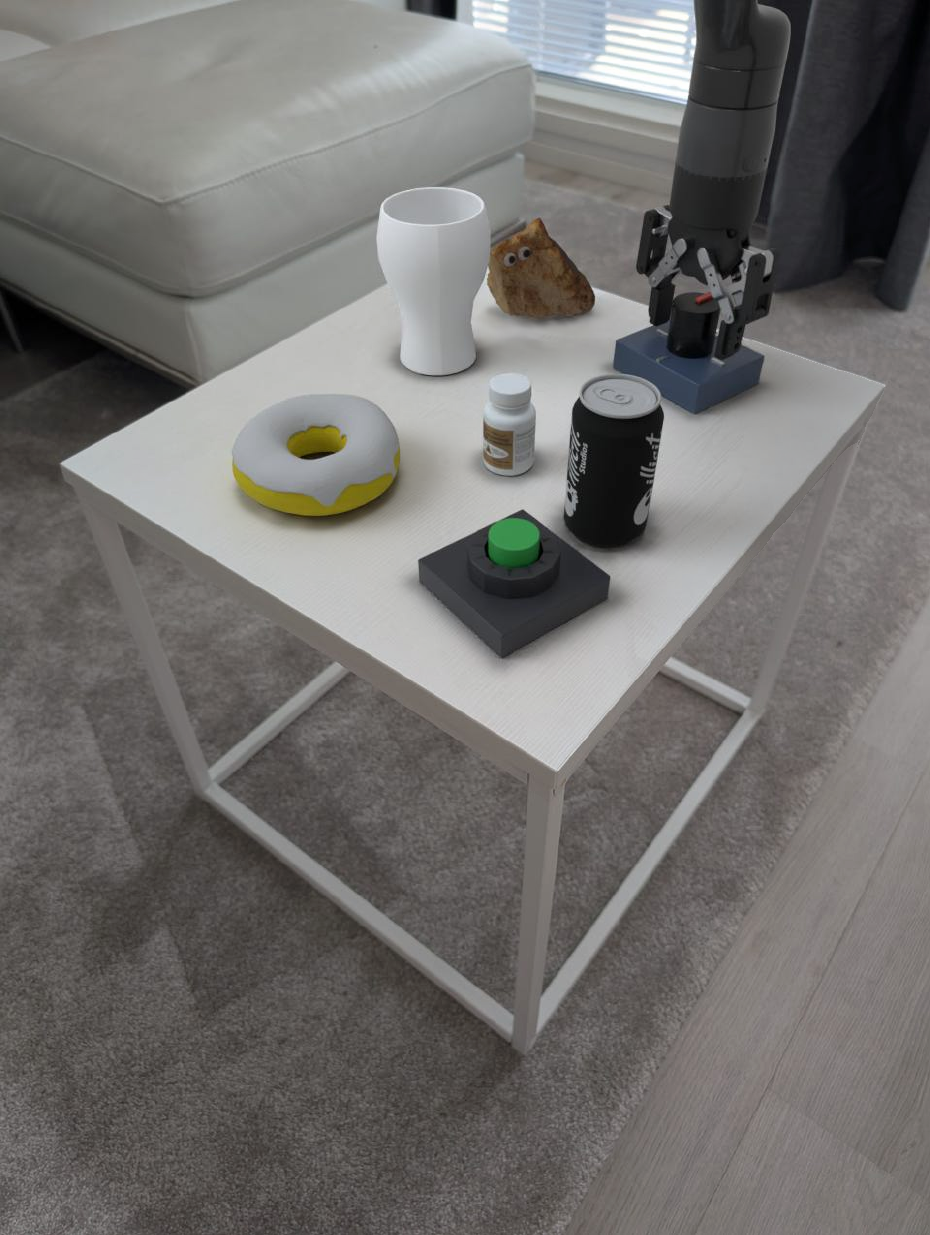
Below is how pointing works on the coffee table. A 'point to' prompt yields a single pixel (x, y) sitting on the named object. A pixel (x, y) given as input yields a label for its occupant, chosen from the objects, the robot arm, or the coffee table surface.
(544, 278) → the decorative rock
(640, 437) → the beverage can
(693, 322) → the program dial
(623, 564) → the coffee table surface
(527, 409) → the pill bottle
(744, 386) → the control panel
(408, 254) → the cup
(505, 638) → the button block
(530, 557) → the button
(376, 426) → the donut
